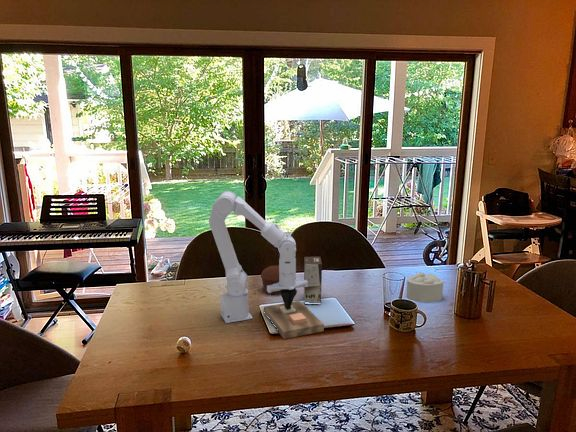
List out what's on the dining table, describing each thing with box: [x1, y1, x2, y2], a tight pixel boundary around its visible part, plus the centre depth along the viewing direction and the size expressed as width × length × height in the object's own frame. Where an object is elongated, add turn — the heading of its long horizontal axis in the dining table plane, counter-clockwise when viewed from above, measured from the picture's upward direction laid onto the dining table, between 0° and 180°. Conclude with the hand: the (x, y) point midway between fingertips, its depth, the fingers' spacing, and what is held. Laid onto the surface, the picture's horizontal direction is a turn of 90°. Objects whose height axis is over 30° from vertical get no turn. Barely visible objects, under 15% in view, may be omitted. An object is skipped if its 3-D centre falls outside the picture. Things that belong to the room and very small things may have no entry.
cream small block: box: [279, 305, 296, 314], centre depth 157 cm, size 4×4×2 cm
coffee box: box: [303, 256, 323, 304], centre depth 170 cm, size 9×6×16 cm
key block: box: [263, 300, 325, 340], centre depth 153 cm, size 14×20×2 cm
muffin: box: [260, 265, 281, 296], centre depth 179 cm, size 12×11×10 cm
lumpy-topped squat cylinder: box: [405, 271, 444, 303], centre depth 173 cm, size 10×13×9 cm
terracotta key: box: [289, 313, 306, 325], centre depth 149 cm, size 4×4×2 cm
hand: (287, 308), depth 157 cm, fingers closed, pressing on cream small block
